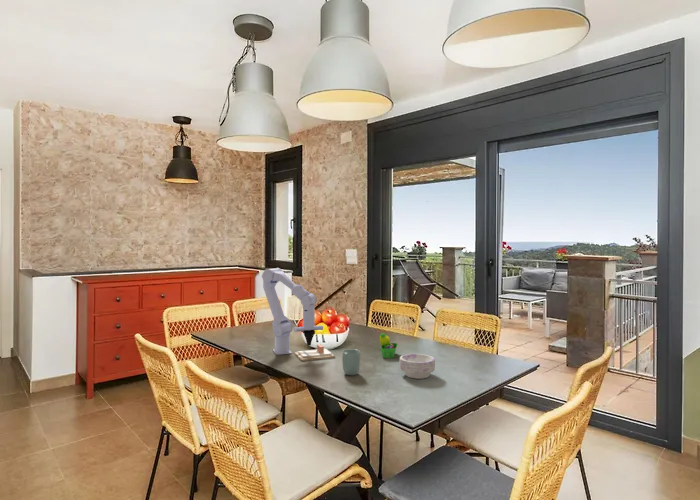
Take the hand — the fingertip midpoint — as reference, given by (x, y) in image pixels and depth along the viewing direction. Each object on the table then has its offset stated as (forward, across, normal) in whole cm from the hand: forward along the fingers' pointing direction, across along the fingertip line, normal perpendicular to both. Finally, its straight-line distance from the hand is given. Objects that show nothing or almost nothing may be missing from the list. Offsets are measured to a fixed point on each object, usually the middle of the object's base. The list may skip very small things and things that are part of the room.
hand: (308, 345), depth 210 cm
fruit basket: (+6, +38, -12) cm, 41 cm away
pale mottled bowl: (+6, +35, -45) cm, 58 cm away
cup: (+6, +9, -33) cm, 35 cm away
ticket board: (+6, +3, 0) cm, 6 cm away
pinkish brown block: (+5, +8, 0) cm, 9 cm away
